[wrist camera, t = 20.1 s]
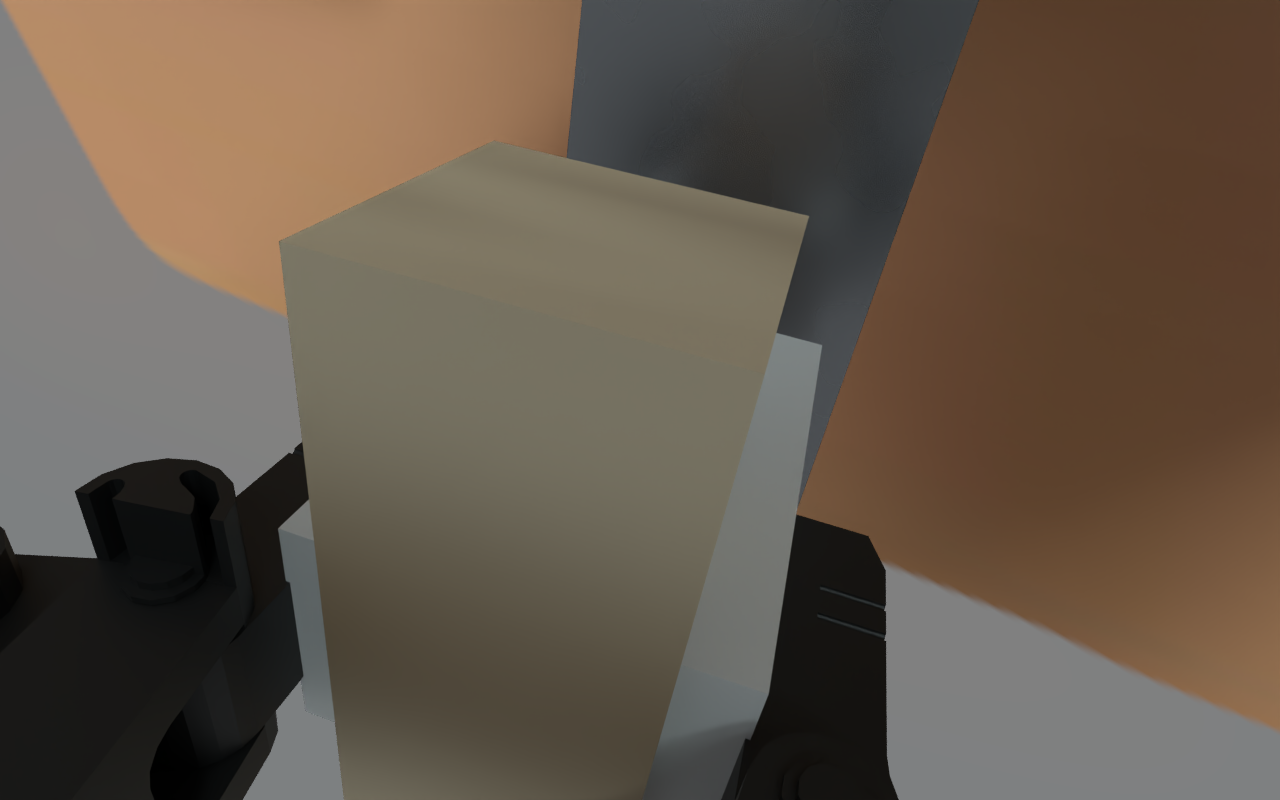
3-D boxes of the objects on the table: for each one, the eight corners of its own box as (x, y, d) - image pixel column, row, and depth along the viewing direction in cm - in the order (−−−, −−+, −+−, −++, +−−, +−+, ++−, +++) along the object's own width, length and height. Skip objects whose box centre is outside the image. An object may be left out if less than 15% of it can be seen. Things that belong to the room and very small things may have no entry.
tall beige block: (770, 576, 18) (676, 1104, 10) (537, 502, 19) (268, 929, 10) (1057, -231, 10) (2058, -1311, 1) (620, -293, 11) (-293, -1181, 2)
